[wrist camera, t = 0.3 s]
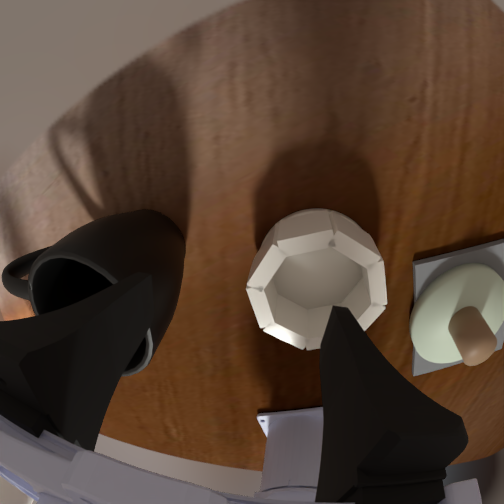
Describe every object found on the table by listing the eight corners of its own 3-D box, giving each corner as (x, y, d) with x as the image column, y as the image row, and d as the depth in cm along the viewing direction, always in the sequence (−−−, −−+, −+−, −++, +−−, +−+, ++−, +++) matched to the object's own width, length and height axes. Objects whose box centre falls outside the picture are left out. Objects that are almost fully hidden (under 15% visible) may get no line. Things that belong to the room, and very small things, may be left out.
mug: (66, 177, 21) (-22, 223, 13) (209, 202, 21) (152, 274, 12) (73, 267, 25) (7, 331, 17) (198, 301, 25) (156, 394, 16)
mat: (499, 344, 23) (501, 348, 23) (411, 371, 25) (413, 376, 25) (517, 234, 18) (520, 237, 18) (412, 261, 21) (415, 265, 20)
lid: (493, 338, 22) (513, 372, 18) (408, 364, 24) (419, 404, 20) (507, 251, 19) (539, 282, 14) (408, 277, 21) (428, 317, 17)
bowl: (377, 298, 22) (388, 334, 19) (274, 318, 24) (270, 355, 21) (362, 196, 19) (378, 219, 16) (244, 223, 21) (232, 250, 18)
